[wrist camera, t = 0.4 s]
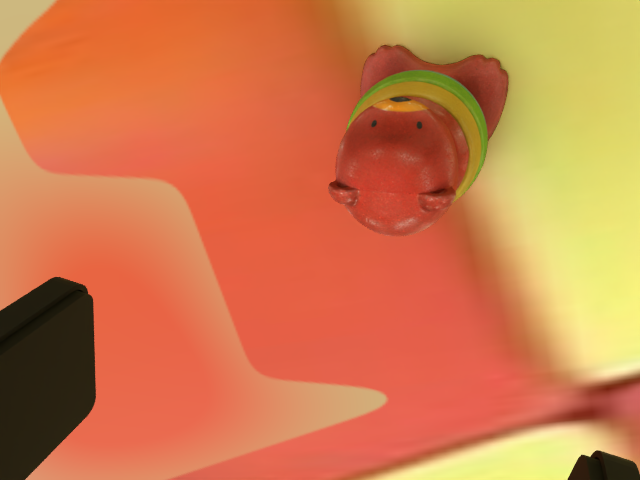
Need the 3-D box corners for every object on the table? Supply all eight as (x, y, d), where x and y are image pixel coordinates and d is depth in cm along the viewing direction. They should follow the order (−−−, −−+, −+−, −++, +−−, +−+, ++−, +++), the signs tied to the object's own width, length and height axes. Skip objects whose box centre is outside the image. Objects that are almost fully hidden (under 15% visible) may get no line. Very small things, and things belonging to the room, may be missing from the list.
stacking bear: (514, 58, 40) (522, 100, 25) (485, 191, 44) (476, 299, 29) (367, 41, 43) (289, 70, 27) (353, 168, 47) (278, 256, 31)
